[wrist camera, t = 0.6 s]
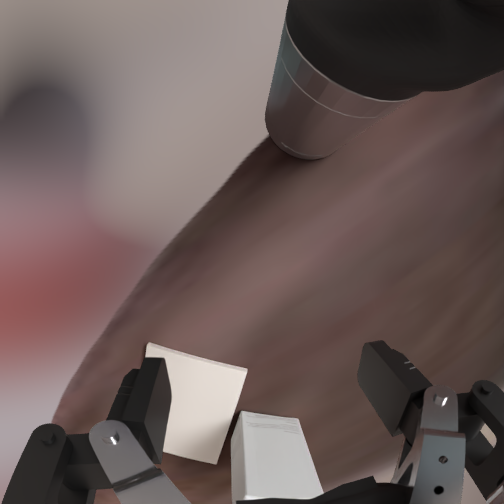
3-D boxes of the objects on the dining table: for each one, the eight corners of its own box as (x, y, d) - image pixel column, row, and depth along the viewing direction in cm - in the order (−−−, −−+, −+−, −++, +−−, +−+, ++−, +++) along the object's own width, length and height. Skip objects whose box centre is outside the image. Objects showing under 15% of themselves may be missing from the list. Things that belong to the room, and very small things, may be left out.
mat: (148, 342, 31) (146, 344, 31) (247, 368, 32) (247, 372, 31) (138, 439, 33) (137, 443, 32) (216, 460, 34) (216, 464, 33)
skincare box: (230, 437, 33) (226, 522, 19) (241, 406, 33) (240, 497, 18) (288, 445, 34) (303, 526, 19) (303, 416, 33) (327, 500, 18)
